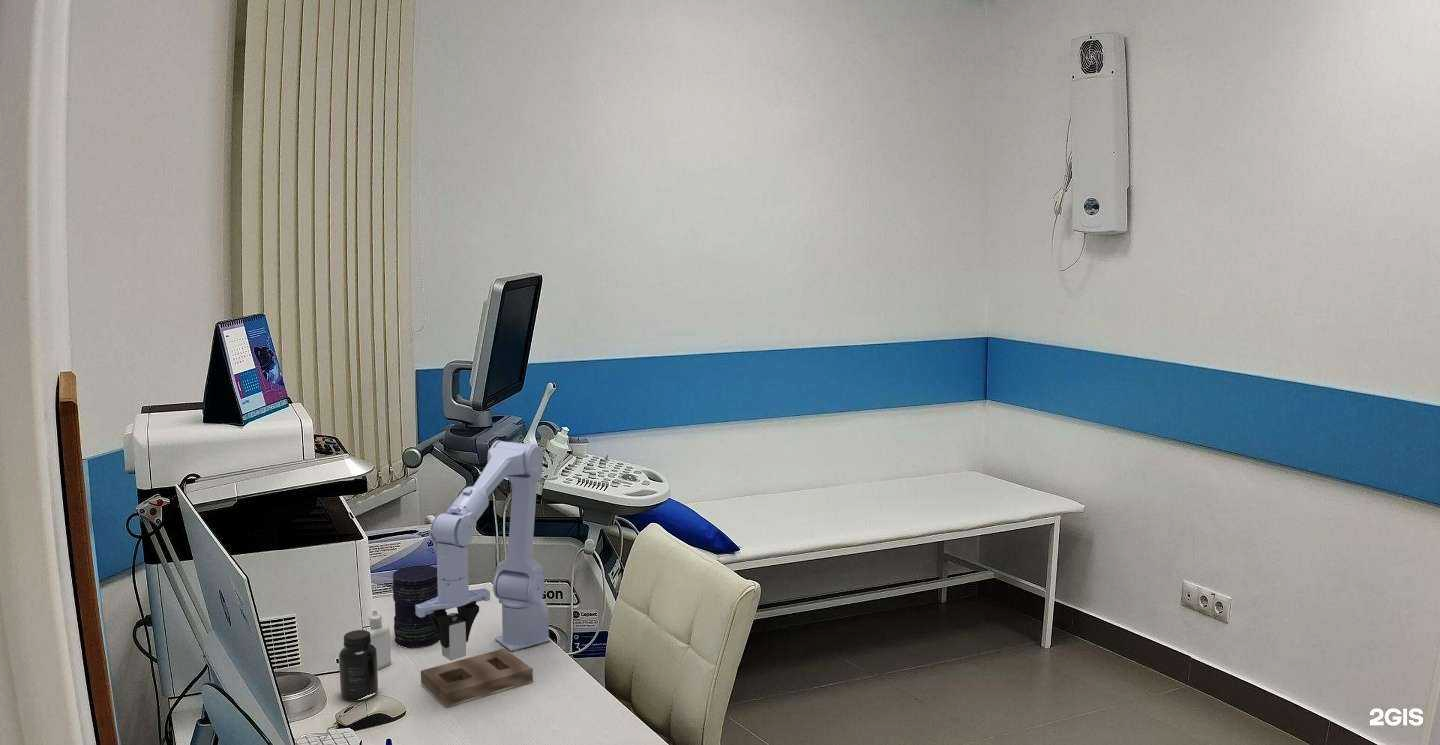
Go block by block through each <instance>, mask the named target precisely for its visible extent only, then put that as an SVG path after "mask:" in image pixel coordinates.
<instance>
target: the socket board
mask: <svg viewBox="0 0 1440 745" xmlns="http://www.w3.org/2000/svg"><path fill="white" fill-rule="evenodd" d="M533 674H534V669H533V667H531V665H530V666H529V665H528V664H527V663H526V662H525V661H523V660H522V659H520V658H519V657H517V656H516V655H515V654H513V653H512V651H510V650H509V649H507V648H506V647H505V648H501V649H496V650H493V651H489V652H485V653H481V654H478V655H473V656H470V657H466V658H463V659H459V660H456V661H451V662H449V663H444V664H441V665H437V666H433V667H430V668H427V669H422V670H420V684H421V686H422V687H423V688H425V689H426V690H427V692H429V693H430V694H431V695H432V696H433V697H434V698H435V699H436V700H438V701H439V703H441V704H442V705H443V706H444V707H445V708H447V709H448V708H449V707H454V706H457V705H460V704H463V703H466V702H467V703H468V702H469V701H473V700H477V699H480V698H483V697H487V696H489V695H493V694H497V693H500V692H504V691H507V690H510V689H514V688H517V687H520V686H524V685H527V684H526V683H528V684H530V682H531V683H533V682H532V681H534V677H533V676H534V675H533Z"/></svg>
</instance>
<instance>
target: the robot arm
mask: <svg viewBox="0 0 1440 745" xmlns="http://www.w3.org/2000/svg"><path fill="white" fill-rule="evenodd" d="M543 463H544V452H543V450H542V449H541V447H540V446H539V445H538V444H536V443H522V442H513V441H512V442H511V441H503V440H495V441H494V442H493V443H492V445H491V446H490V448H489V450H488V451H487V463H486V465H485V466H484V468H483V470H482V471H481V473H480V474H479V476H478V478H477V479H476V481H475V482H474V484H473V486H467V487H465V488H464V489H463V490H462V491H461V492H460V494H459V495H458V497H456V499H455V500H454V501H453V503H452V504H451V505H450V506H449V508H448V509H447V511H446V512H445V513H439V514H438V515H437V516H435V517H434V518H433V519H432V522H431V525H430V530H429V532H428V533H429V538H430V540H431V542H432V544H433V551H434V553H436V568H437V579H438V597H435V598H433V599H431V600H428V601H426V602H424V603H421V604H418V605H415V609H416V615H417V616H418V617H420V618H421V617H425V615H427V614H429V616H430V618H431V619H432V621H433V623H434V625H435V627H436V630H437V632H438V635H439V639H440V641H439V643H440V646H441V647H442V646H443V647H444V648H448V647H449V626H450V620H451V617H450V616H449V615H448V612H447V610H450V609H454V608H456V611H457V613H458V614H459V617H460V618H461V619H463V620H464V621H466V643H468V642H469V638H470V634H471V631H472V626H473V623H474V621H475V620H476V617H477V616H478V614H479V613H480V606H479V605H478V604H477V603H478V602H482V601H484V602H488V601H491V590H489V589H487V588H486V587H483V588H479V589H472V590H471V589H469V549H468V548H469V546H468V544H470V543H471V541H472V540H473V537H474V533H475V529H476V528H477V521H478V520H479V519H480V518H481V517H482V515H483V514H484V512H485V511H486V509H487V508H488V507H489V504H490V500H489V498H488V497H489V496H490V495H491V493H492V492H493V491H495V489H496V488H497V487H498V486H499V485H500V484H501V482H503V480H504V479H505V478H507V480H508V481H509V482H510V484H511V485H512V489H511V503H510V504H511V506H510V515H509V516H510V518H509V532H508V546H507V548H508V549H507V557H506V558H505V559H503V560H501V562H499V563H498V564H497V565H496V570H495V575H494V578H493V580H492V590H493V592H492V593H493V595H494V597H496V599H498V604H501V616H502V618H501V622H502V623H501V624H502V631H501V632H502V635H499V636H495V637H494V640H495V641H496V642H498V643H499V644H500V645H502V646H504V647H505V649H507V650H508V651H509V652H514V651H518V650H522V649H526V648H529V647H532V646H537V645H539V644H543V643H548V642H550V641H551V638H550V636H549V634H550V632H549V629H550V628H549V622H550V620H549V608H548V605H547V602H546V600H545V599H544V598H543V596H544V593H545V588H546V584H545V579H544V578H545V577H544V567H543V566H542V565H541V564H540V563H539V562H538V561H537V560H536V559H534V557H533V549H534V548H533V546H534V536H535V535H534V531H535V516H536V504H537V503H536V502H537V490H538V488H537V487H538V482H540V481H541V480H542V476H543Z"/></svg>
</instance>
